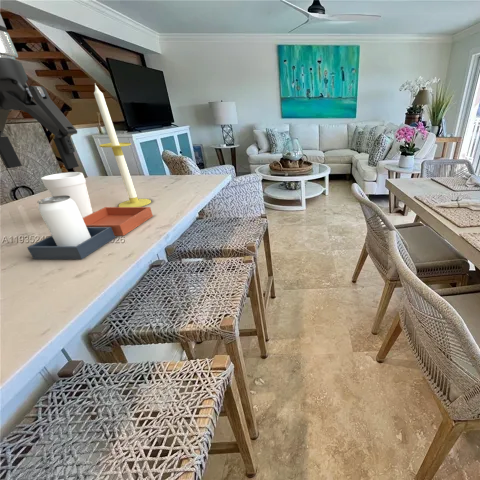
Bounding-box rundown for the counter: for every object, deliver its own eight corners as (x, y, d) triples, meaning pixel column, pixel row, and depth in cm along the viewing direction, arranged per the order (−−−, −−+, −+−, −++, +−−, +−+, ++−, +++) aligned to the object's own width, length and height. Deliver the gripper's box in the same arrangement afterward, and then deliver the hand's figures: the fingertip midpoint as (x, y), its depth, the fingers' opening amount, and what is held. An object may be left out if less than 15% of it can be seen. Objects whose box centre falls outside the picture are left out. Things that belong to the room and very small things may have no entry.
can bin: (33, 259, 61) (26, 247, 59) (73, 237, 71) (68, 227, 69) (82, 259, 61) (76, 247, 59) (115, 237, 71) (111, 226, 69)
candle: (119, 210, 89) (71, 81, 72) (117, 202, 96) (74, 83, 79) (152, 204, 94) (116, 82, 77) (149, 197, 101) (114, 84, 84)
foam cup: (60, 216, 84) (40, 175, 78) (96, 209, 90) (80, 170, 84) (62, 224, 78) (41, 181, 72) (101, 216, 84) (84, 175, 78)
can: (52, 250, 63) (26, 202, 58) (79, 238, 69) (59, 193, 64) (72, 253, 62) (48, 204, 57) (99, 240, 68) (79, 195, 62)
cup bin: (71, 235, 72) (66, 225, 70) (108, 216, 84) (105, 207, 83) (123, 235, 72) (119, 225, 70) (153, 216, 84) (150, 207, 83)
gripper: (-98, 53, 48) (-29, 170, 58) (37, 54, 48) (83, 171, 58) (-47, 59, 55) (7, 163, 65) (71, 60, 55) (108, 164, 65)
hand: (43, 167), depth 61 cm, fingers open, 13 cm apart
